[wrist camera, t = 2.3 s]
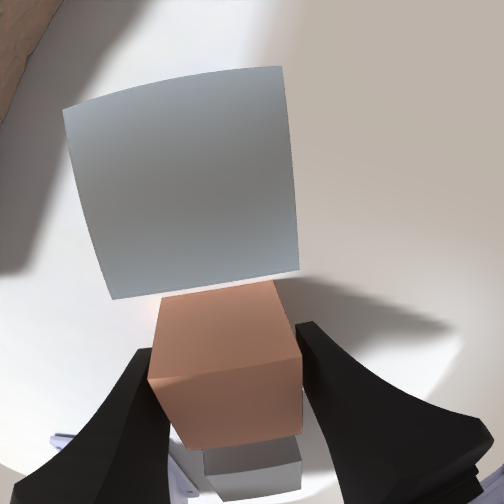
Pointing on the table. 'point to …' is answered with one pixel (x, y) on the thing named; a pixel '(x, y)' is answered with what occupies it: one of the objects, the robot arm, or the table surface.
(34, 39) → the brick
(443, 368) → the table surface
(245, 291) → the terracotta block
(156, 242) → the slate block
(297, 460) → the gray block
